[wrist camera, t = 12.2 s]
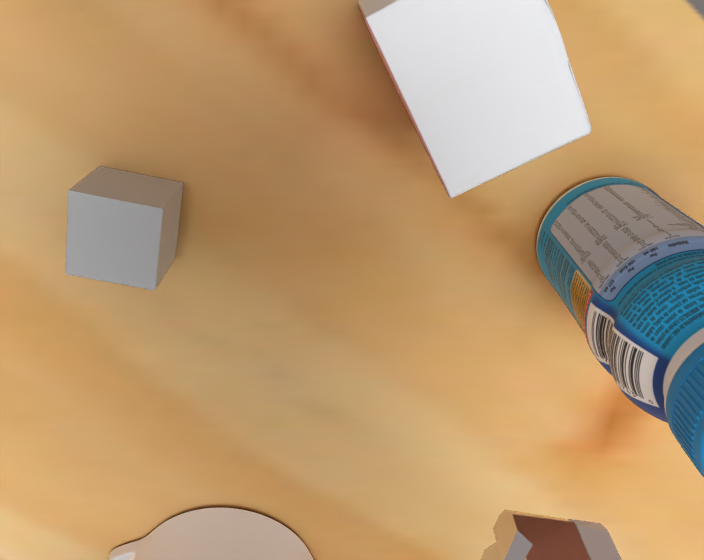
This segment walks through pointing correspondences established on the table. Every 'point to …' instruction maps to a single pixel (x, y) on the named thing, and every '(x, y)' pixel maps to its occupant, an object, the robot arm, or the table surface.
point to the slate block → (122, 227)
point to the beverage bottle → (635, 295)
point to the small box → (479, 82)
